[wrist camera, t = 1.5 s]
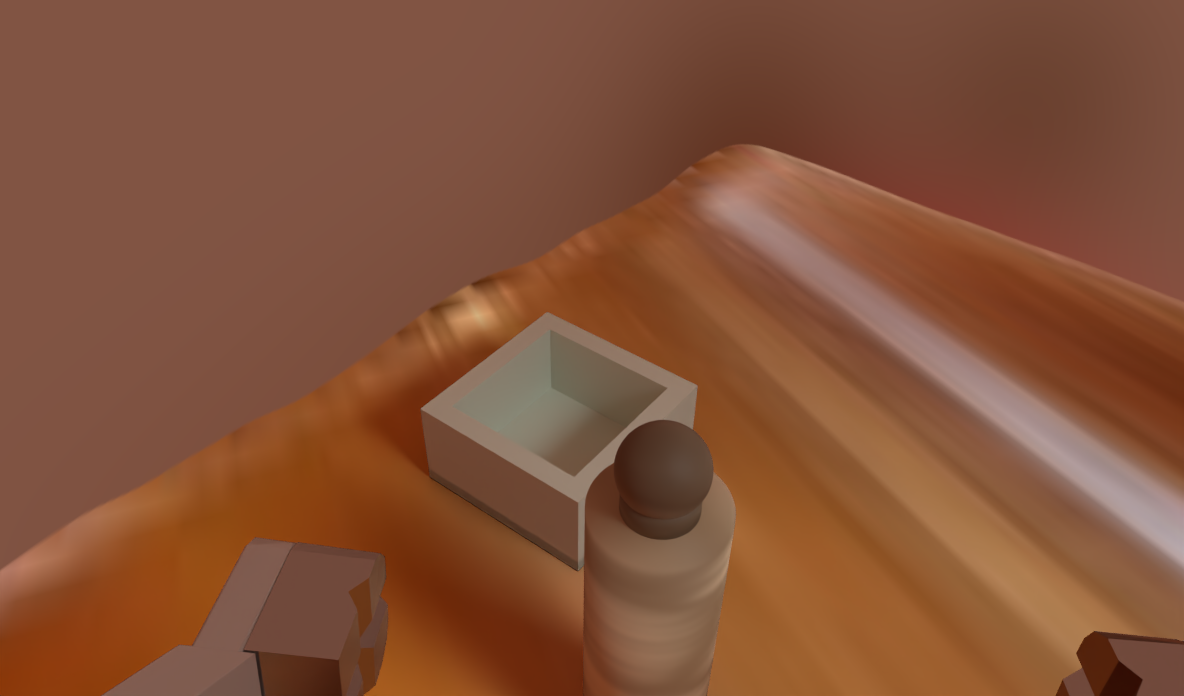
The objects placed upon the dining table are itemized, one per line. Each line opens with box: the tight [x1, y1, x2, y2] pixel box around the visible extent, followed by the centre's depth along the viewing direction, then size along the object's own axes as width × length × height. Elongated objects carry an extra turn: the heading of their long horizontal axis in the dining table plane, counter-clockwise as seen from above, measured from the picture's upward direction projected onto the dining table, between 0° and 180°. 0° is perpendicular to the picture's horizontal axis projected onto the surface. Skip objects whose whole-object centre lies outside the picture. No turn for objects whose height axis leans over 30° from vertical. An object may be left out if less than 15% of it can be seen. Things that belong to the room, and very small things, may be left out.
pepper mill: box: [583, 420, 736, 696], centre depth 32 cm, size 4×4×16 cm
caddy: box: [420, 312, 697, 571], centre depth 46 cm, size 9×9×4 cm
